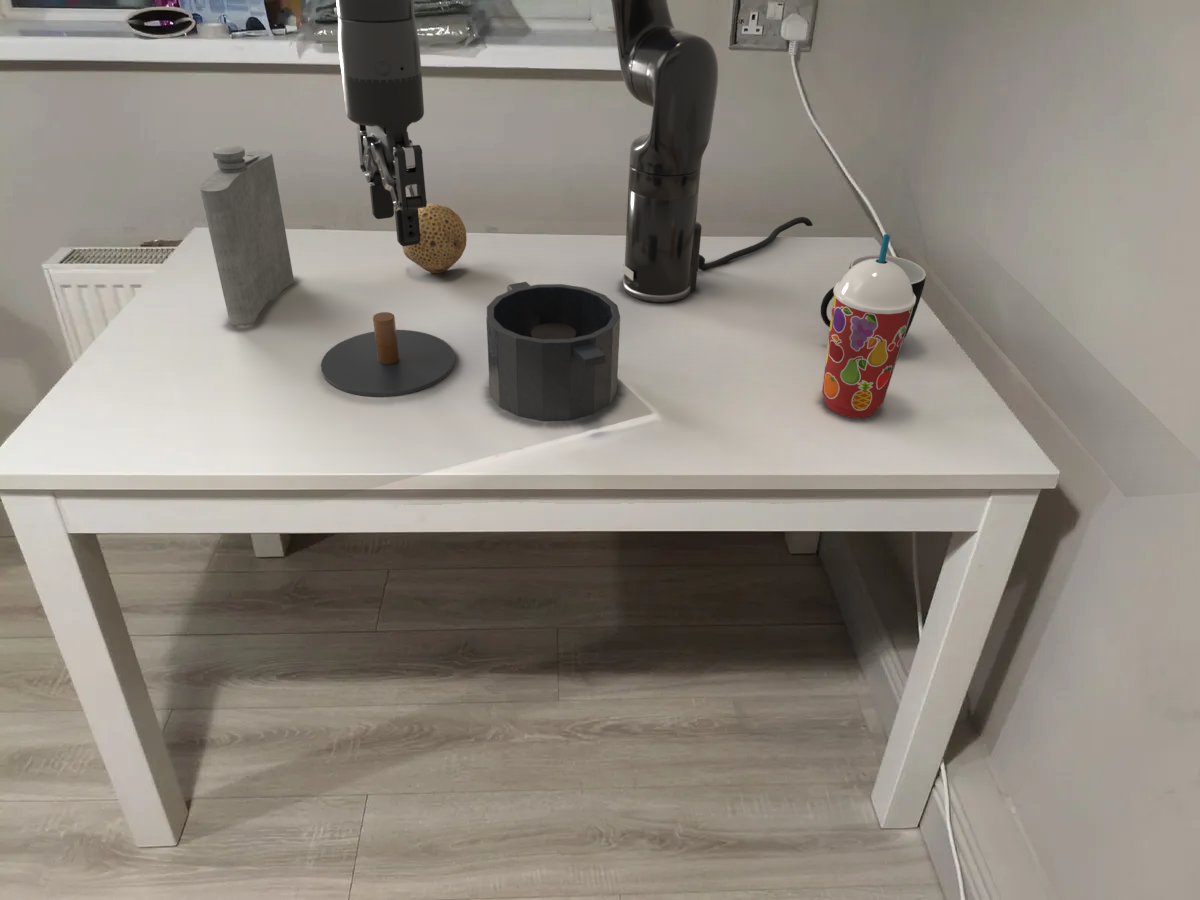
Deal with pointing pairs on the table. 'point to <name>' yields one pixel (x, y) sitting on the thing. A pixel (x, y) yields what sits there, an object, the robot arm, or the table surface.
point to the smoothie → (866, 334)
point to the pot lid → (387, 361)
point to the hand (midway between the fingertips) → (396, 230)
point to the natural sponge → (438, 239)
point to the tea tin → (553, 331)
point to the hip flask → (247, 231)
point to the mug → (910, 268)
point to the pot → (552, 352)
